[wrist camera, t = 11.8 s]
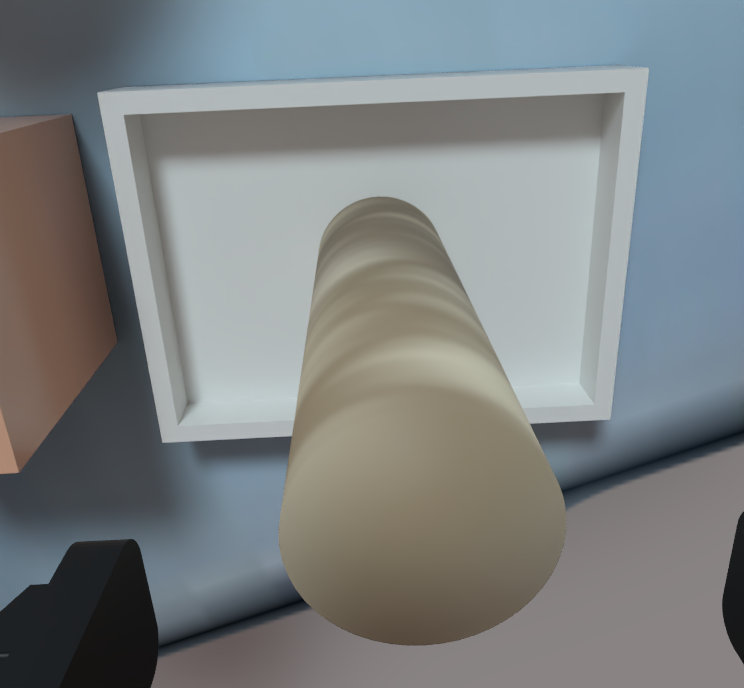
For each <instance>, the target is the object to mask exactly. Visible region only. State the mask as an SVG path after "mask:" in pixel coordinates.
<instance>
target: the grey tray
mask: <svg viewBox="0 0 744 688" xmlns="http://www.w3.org/2000/svg"><path fill="white" fill-rule="evenodd" d="M648 74H649V68H644V67H634V66H623V65H608V66H585V67H563V68H540V69H518V70H495V71H473V72H450V73H428V74H405V75H383V76H360V77H338V78H315V79H293V80H271V81H248V82H226V83H203V84H181V85H158V86H136V87H121V88H116V89H112V90H107V91H102V92H97V95H98V100H99V105H100V111H101V116H102V121H103V127H104V132H105V138H106V143H107V148H108V154H109V159H110V164H111V170H112V175H113V180H114V186H115V191H116V197H117V202H118V207H119V213H120V218H121V223H122V229H123V234H124V239H125V245H126V250H127V256H128V261H129V266H130V272H131V277H132V282H133V288H134V293H135V299H136V304H137V309H138V315H139V320H140V325H141V331H142V336H143V341H144V347H145V352H146V358H147V363H148V368H149V374H150V379H151V384H152V390H153V395H154V400H155V406H156V411H157V417H158V422H159V427H160V433H161V438H162V443H169V442H188V441H207V440H226V439H246V438H265V437H284V436H292V432H293V425H294V419H295V412H296V405H297V398H298V391H299V384H300V377H301V370H302V363H303V357H304V350H305V343H306V336H307V329H308V322H309V315H310V308H311V301H312V295H313V288H314V281H315V274H316V267H317V260H318V253H319V246H320V242H321V239H322V236H323V234H324V231H325V229H326V228H327V226H328V224H329V223H330V222H331V220H332V219H333V218H334V217H335V216H336V215H337V214H338V213H339V212H340V211H341V210H343V209H344V208H345V207H347V206H348V205H350V204H352V203H354V202H356V201H359V200H361V199H365V198H369V197H378V196H380V197H392V198H397V199H400V200H403V201H406V202H408V203H410V204H412V205H413V206H415V207H417V208H418V209H419V210H421V211H422V212H423V213H424V214H425V215H426V216H427V217H428V218H429V220H430V221H431V222H432V224H433V225H434V227H435V229H436V231H437V233H438V235H439V237H440V239H441V241H442V243H443V245H444V247H445V249H446V252H447V254H448V256H449V258H450V260H451V262H452V264H453V266H454V268H455V270H456V272H457V274H458V276H459V278H460V281H461V283H462V285H463V287H464V289H465V291H466V293H467V295H468V297H469V299H470V301H471V303H472V305H473V307H474V309H475V312H476V314H477V316H478V318H479V320H480V322H481V324H482V326H483V328H484V330H485V332H486V334H487V336H488V338H489V341H490V343H491V345H492V347H493V349H494V351H495V353H496V355H497V357H498V359H499V361H500V363H501V365H502V367H503V370H504V372H505V374H506V376H507V378H508V380H509V382H510V384H511V386H512V388H513V390H514V392H515V394H516V396H517V398H518V401H519V403H520V405H521V407H522V409H523V411H524V413H525V415H526V417H527V419H528V421H529V423H530V424H533V423H553V422H572V421H591V420H610V417H611V408H612V399H613V390H614V381H615V372H616V363H617V354H618V345H619V336H620V327H621V318H622V309H623V300H624V291H625V282H626V273H627V263H628V254H629V245H630V236H631V227H632V218H633V209H634V200H635V191H636V182H637V173H638V164H639V155H640V146H641V137H642V128H643V119H644V110H645V101H646V92H647V83H648Z"/></svg>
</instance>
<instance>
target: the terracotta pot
mask: <svg viewBox="0 0 744 688" xmlns="http://www.w3.org/2000/svg"><path fill="white" fill-rule="evenodd" d="M117 343H118V342H117V337H116V332H115V327H114V322H113V317H112V312H111V307H110V302H109V297H108V292H107V287H106V282H105V277H104V272H103V268H102V263H101V258H100V253H99V248H98V243H97V238H96V233H95V228H94V223H93V218H92V213H91V208H90V203H89V198H88V194H87V189H86V184H85V179H84V174H83V169H82V164H81V159H80V154H79V149H78V144H77V139H76V134H75V129H74V124H73V119H72V115H71V114H59V115H37V116H15V117H0V474H6V473H19V472H20V471H21V470H22V468H23V467H24V466H25V464H26V463H27V462H28V460H29V459H30V458H31V456H32V455H33V454H34V452H35V451H36V450H37V448H38V447H39V446H40V445H41V443H42V442H43V441H44V439H45V438H46V437H47V435H48V434H49V433H50V431H51V430H52V429H53V427H54V426H55V425H56V423H57V422H58V421H59V419H60V418H61V417H62V415H63V414H64V413H65V411H66V410H67V409H68V407H69V406H70V405H71V403H72V402H73V401H74V400H75V398H76V397H77V396H78V394H79V393H80V392H81V390H82V389H83V388H84V386H85V385H86V384H87V382H88V381H89V380H90V378H91V377H92V376H93V374H94V373H95V372H96V370H97V369H98V368H99V366H100V365H101V364H102V362H103V361H104V360H105V359H106V357H107V356H108V355H109V353H110V352H111V351H112V349H113V348H114V347H115V345H116V344H117Z"/></svg>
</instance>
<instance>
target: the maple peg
mask: <svg viewBox="0 0 744 688" xmlns="http://www.w3.org/2000/svg"><path fill="white" fill-rule="evenodd" d="M565 534H566V510H565V503H564V498H563V495H562V492H561V489H560V486H559V483H558V481H557V479H556V477H555V475H554V473H553V471H552V469H551V467H550V465H549V463H548V461H547V458H546V456H545V454H544V452H543V450H542V448H541V446H540V444H539V442H538V440H537V438H536V436H535V434H534V432H533V430H532V427H531V425H530V423H529V421H528V419H527V417H526V415H525V413H524V411H523V409H522V407H521V405H520V403H519V401H518V398H517V396H516V394H515V392H514V390H513V388H512V386H511V384H510V382H509V380H508V378H507V376H506V374H505V372H504V370H503V367H502V365H501V363H500V361H499V359H498V357H497V355H496V353H495V351H494V349H493V347H492V345H491V343H490V341H489V338H488V336H487V334H486V332H485V330H484V328H483V326H482V324H481V322H480V320H479V318H478V316H477V314H476V312H475V309H474V307H473V305H472V303H471V301H470V299H469V297H468V295H467V293H466V291H465V289H464V287H463V285H462V283H461V281H460V278H459V276H458V274H457V272H456V270H455V268H454V266H453V264H452V262H451V260H450V258H449V256H448V254H447V252H446V249H445V247H444V245H443V243H442V241H441V239H440V237H439V235H438V233H437V231H436V229H435V227H434V225H433V224H432V222H431V221H430V220H429V218H428V217H427V216H426V215H425V214H424V213H423V212H422V211H421V210H419V209H418V208H417V207H415V206H413V205H412V204H410V203H408V202H406V201H403V200H400V199H397V198H392V197H380V196H378V197H369V198H365V199H361V200H359V201H356V202H354V203H352V204H350V205H348V206H347V207H345V208H344V209H343V210H341V211H340V212H339V213H338V214H337V215H336V216H335V217H334V218H333V219H332V220H331V222H330V223H329V224H328V226H327V228H326V229H325V231H324V234H323V236H322V239H321V242H320V246H319V253H318V260H317V267H316V274H315V281H314V288H313V295H312V301H311V308H310V315H309V322H308V329H307V336H306V343H305V350H304V357H303V363H302V370H301V377H300V384H299V391H298V398H297V405H296V412H295V419H294V425H293V432H292V439H291V446H290V453H289V460H288V467H287V474H286V481H285V487H284V494H283V501H282V508H281V515H280V523H279V547H280V552H281V557H282V561H283V564H284V566H285V569H286V572H287V574H288V576H289V578H290V580H291V582H292V584H293V585H294V587H295V589H296V590H297V591H298V593H299V594H300V595H301V596H302V598H303V599H304V600H305V601H306V602H307V603H308V604H309V605H310V606H311V607H312V608H313V609H314V610H315V611H316V612H317V613H319V614H320V615H321V616H323V617H324V618H325V619H327V620H328V621H330V622H331V623H333V624H335V625H336V626H338V627H340V628H341V629H344V630H346V631H348V632H350V633H353V634H355V635H358V636H361V637H364V638H367V639H370V640H373V641H379V642H384V643H389V644H397V645H432V644H441V643H446V642H451V641H456V640H461V639H464V638H467V637H470V636H474V635H476V634H479V633H481V632H483V631H486V630H488V629H490V628H493V627H494V626H496V625H498V624H499V623H502V622H503V621H505V620H507V619H508V618H510V617H511V616H512V615H514V614H515V613H517V612H518V611H520V610H521V609H522V608H523V607H524V606H525V605H526V604H528V603H529V602H530V601H531V600H532V599H533V598H534V597H535V596H536V594H537V593H538V592H539V591H540V590H541V589H542V588H543V586H544V585H545V583H546V582H547V580H548V579H549V577H550V576H551V574H552V573H553V571H554V569H555V567H556V565H557V563H558V561H559V558H560V554H561V552H562V549H563V546H564V540H565Z"/></svg>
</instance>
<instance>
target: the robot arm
mask: <svg viewBox="0 0 744 688" xmlns="http://www.w3.org/2000/svg"><path fill="white" fill-rule="evenodd" d="M722 601H723V602H722V609H723V618H724V623H725V627H726V630H727V634H728V636H729V639H730V641H731V643H732V645H733V647H734V649H735V651H736V652H737V654H738V656H739V657H740V659H741V660H742V662H743V664H744V512H743V513H742V514H741V516H740V518H739V520H738V524H737V529H736V534H735V539H734V544H733V549H732V554H731V558H730V564H729V569H728V573H727V579H726V584H725V588H724V593H723V600H722ZM157 658H158V627H157V622H156V617H155V613H154V608H153V604H152V600H151V595H150V591H149V586H148V582H147V577H146V573H145V569H144V564H143V560H142V555H141V551H140V548H139V546H138V544H137V542H136V541H135V540H133V539H124V540H105V541H86V542H75V543H74V544H72V545H71V546H70V547H69V549H68V550H67V552H66V554H65V556H64V557H63V559H62V561H61V563H60V564H59V566H58V568H57V570H56V572H55V573H54V575H53V577H52V579H51V580H50V582H49V584H40V585H30V586H29V587H27V588H26V589H25V590H24V591H23V592H22V593H21V594H20V595H19V596H17V597H16V598H15V599H14V600H13V601H12V602H11V603H10V604H8V605H7V606H6V607H5V608H4V609H3V610H2V611H1V612H0V688H150V687H151V684H152V681H153V678H154V674H155V670H156V665H157Z"/></svg>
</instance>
